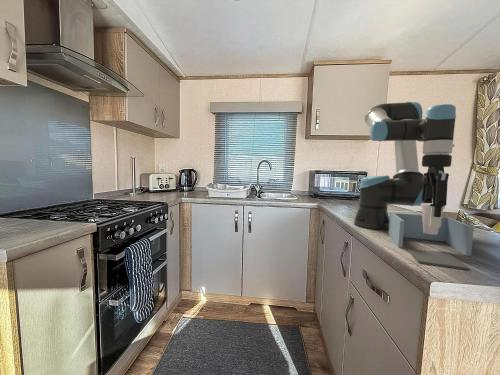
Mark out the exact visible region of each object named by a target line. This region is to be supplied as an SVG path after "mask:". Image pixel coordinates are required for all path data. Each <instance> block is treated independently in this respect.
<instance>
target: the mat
mask: <svg viewBox="0 0 500 375" xmlns="http://www.w3.org/2000/svg"><path fill="white" fill-rule="evenodd" d="M407 252H408V253H409V254H410V255H411V256H412V257H413V259H415V261H416V263H417V264H421V263H422V264H423V265H428V266H430V265H431V266H436V267H437V266H438V267H442V268H443V267H445V268H450V269H458V270H466V271H469V267H468V266H467V265H466V264H464V263H463V262H462V261H460V260H459V259H457V257H455V256H454V255H452V254H451V253H445V252H437V251H429V250H422V249H421V250H420V249H413V248H407Z"/></svg>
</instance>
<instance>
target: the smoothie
mask: <svg viewBox="0 0 500 375" xmlns="http://www.w3.org/2000/svg"><path fill="white" fill-rule="evenodd" d="M430 204H433V199H432V203H421V206H420V207H421V215H422V219H423V232H424V233H427V234H433V235H437V233H438V229H439V227H430V214H431V206H430ZM445 209H446V206H443V207H442V215H443V213H444V210H445Z"/></svg>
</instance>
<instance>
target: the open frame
mask: <svg viewBox="0 0 500 375" xmlns="http://www.w3.org/2000/svg"><path fill="white" fill-rule="evenodd" d="M389 219H390V220H389V229H388V236H389V237H390V239H391V240H392V241H393V243H394V244H395V245H396V247H397V248H401V249H402V248H403V244H404V238H410V239H419V240H426V241H427V240H429V241H436V242H437V241H439V242H445V243H447V244H448V245H449V246H451V247H452V248H454V249H456V250H457V251H459V253H461V254H463V255H465V256H466V257H467V256H468V257H471V256H472V249H473V241H474V240H473V238H474V229H475V227H474V226H472V225H470V224H468V223H465V222H462V221H460V220H457V219H454V218H452V217H451V216H450V217H449V216H442V218H441V228H440V227H439V229H438V233H437V235H433V234H427V233H424V232H423V222H422V214H414V213H402V212H401V213H400V212H399V213H398V212H390V213H389Z"/></svg>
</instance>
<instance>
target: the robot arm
mask: <svg viewBox="0 0 500 375" xmlns="http://www.w3.org/2000/svg"><path fill="white" fill-rule="evenodd" d="M456 111H457V110H456V105H454V104H448V103H447V104H444V103H443V104H437V105H436V104H435V105H432V106H429V107H428V108H427V109H426V111H425V116H424V118H423V112H424V111H423V107H422V104H420V103H419V102H417V101H405V102H393V103H392V102H391V103H381V104H378V105H375V106H373V107H371V108H370V109H368V111H367V112H366V113H365V116H364V122H365V124H366V125H367V127H369V129H370V130H369V136H370V140H371V142H372V141H374V142H394V156H395V174H393V176H392V178H391V177H390V175H375V176H374V175H373V176H366V177H362V178H361V180H360V185H359V202H358V209H357V212H356V214H355V216H354V219H353V224H354V226H357V227H361V228H364V229H371V230H389V220H390V214H389V213H388V206H389V205H395V206H396V205H397V206H409V207H421V203H432V199H433V204H430V206H431V214H430V227H440V228H441V218H442V217H443V214H442V207H443V206H445V207H446V206H447V200H448V199H447V198H448V180H449V176H450V174H449V173H447V172H445V168H450V167H451V166H452V160H453V158H452V156H453V155H451V154H453V148H454V147H455V144H454V138H455V127H456V126H455V125H456V118H457V115H456V114H457V112H456ZM417 142H421V143H422V142H423V144H422V154H423V155H422V157H421V160H422V161H421V166H422V167H424V168H427V172H424V173H423V172H421V171H420V170H419V161H418V148H417ZM422 222H423V219H422Z"/></svg>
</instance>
